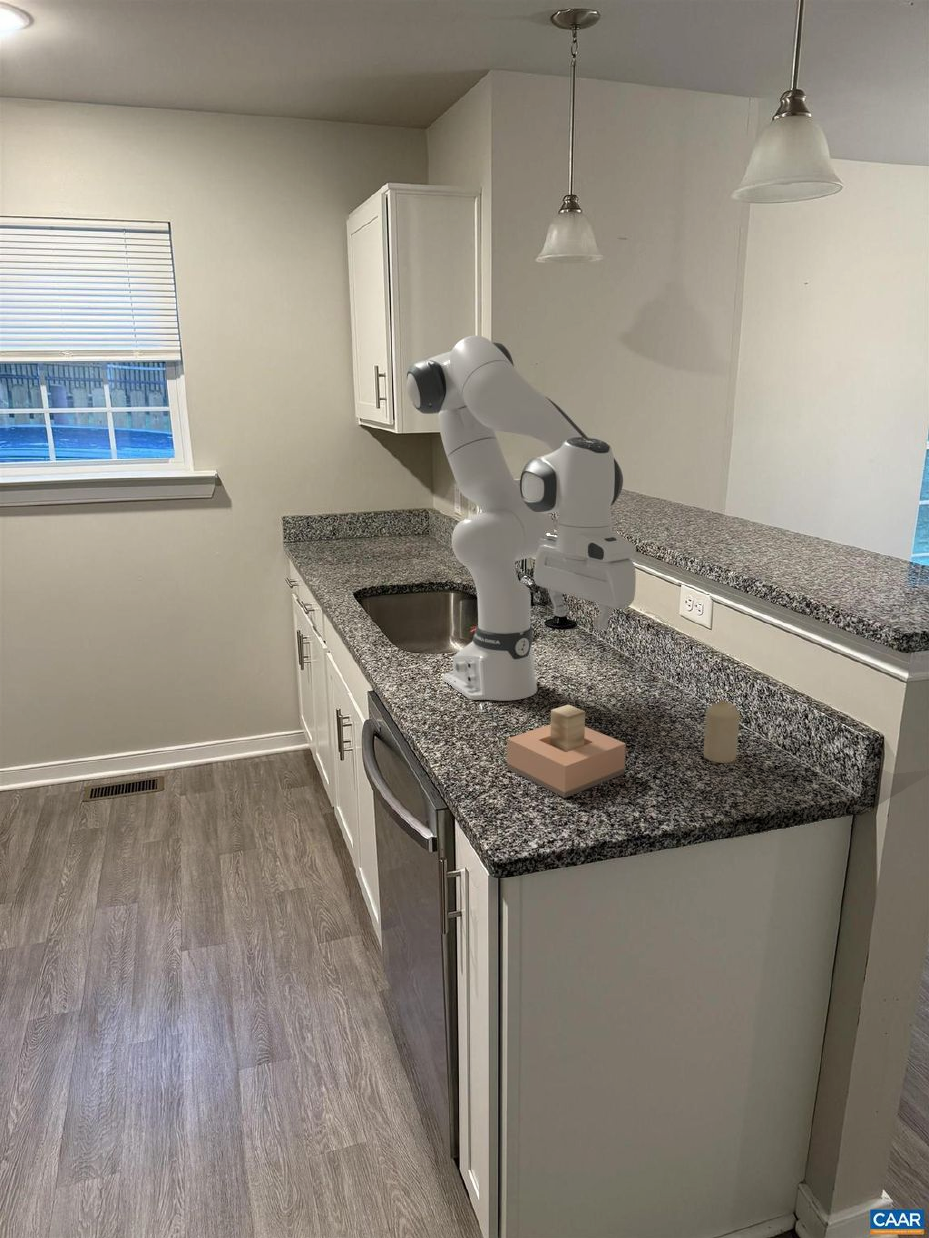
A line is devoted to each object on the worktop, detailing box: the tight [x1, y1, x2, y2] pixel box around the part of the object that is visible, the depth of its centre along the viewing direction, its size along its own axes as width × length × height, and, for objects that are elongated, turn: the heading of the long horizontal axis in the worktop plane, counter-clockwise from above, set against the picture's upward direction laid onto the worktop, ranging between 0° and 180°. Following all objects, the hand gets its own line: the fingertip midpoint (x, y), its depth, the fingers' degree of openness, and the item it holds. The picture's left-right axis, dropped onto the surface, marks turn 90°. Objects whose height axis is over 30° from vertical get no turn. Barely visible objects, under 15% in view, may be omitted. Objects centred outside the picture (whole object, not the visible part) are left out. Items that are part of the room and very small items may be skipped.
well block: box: [506, 723, 627, 799], centre depth 142 cm, size 14×14×6 cm
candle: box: [703, 700, 741, 764], centre depth 146 cm, size 6×6×10 cm
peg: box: [550, 704, 586, 752], centre depth 141 cm, size 4×4×10 cm
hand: (579, 622), depth 140 cm, fingers open, 8 cm apart
